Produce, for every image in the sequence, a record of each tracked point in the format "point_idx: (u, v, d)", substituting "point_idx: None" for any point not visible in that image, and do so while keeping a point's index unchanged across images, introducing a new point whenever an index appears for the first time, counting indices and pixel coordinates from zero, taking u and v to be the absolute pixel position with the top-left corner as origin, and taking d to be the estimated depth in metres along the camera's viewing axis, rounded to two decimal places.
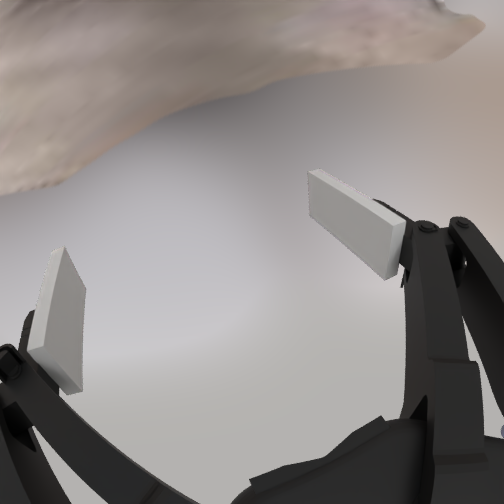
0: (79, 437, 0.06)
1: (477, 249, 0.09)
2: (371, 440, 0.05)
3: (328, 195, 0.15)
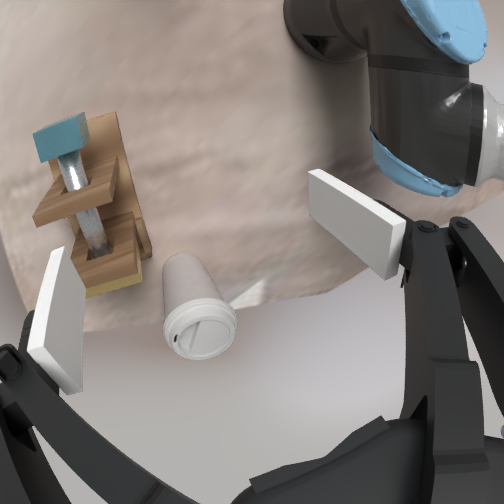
0: (79, 437, 0.06)
1: (477, 249, 0.09)
2: (371, 440, 0.05)
3: (328, 195, 0.15)
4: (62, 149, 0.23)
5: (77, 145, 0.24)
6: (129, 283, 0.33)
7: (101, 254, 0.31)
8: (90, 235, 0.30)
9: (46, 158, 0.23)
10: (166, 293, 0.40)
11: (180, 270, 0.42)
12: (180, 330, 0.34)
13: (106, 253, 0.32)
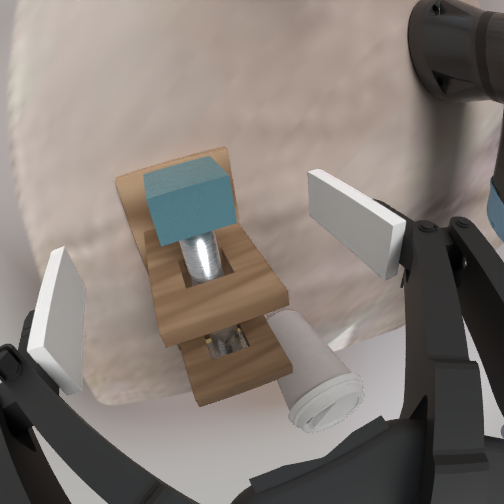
0: (79, 436, 0.06)
1: (477, 249, 0.09)
2: (371, 440, 0.05)
3: (328, 195, 0.15)
4: (202, 226, 0.18)
5: (227, 220, 0.18)
6: None
7: (231, 348, 0.25)
8: (221, 330, 0.24)
9: (171, 240, 0.17)
10: None
11: (293, 336, 0.36)
12: (317, 413, 0.28)
13: (236, 345, 0.26)
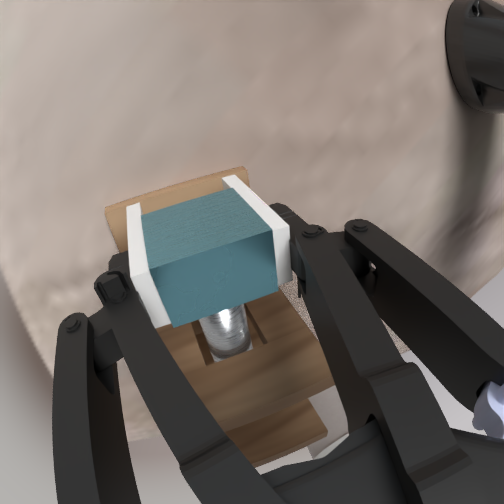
0: (165, 373, 0.07)
1: (386, 252, 0.10)
2: (371, 440, 0.05)
3: None
4: (231, 299, 0.12)
5: (265, 288, 0.13)
6: None
7: None
8: None
9: (187, 319, 0.12)
10: None
11: None
12: None
13: None
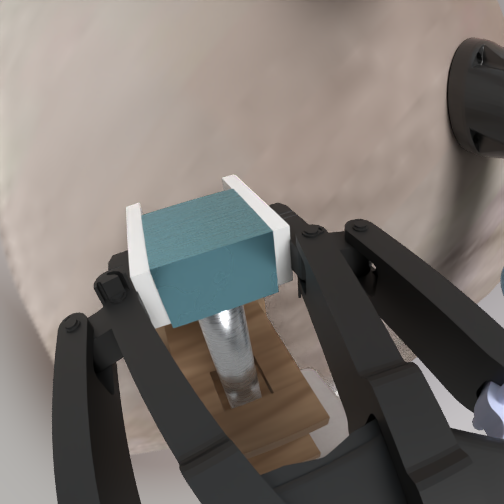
0: (164, 373, 0.07)
1: (386, 252, 0.10)
2: (371, 440, 0.05)
3: None
4: (231, 300, 0.12)
5: (265, 289, 0.13)
6: None
7: None
8: (243, 397, 0.19)
9: (187, 320, 0.12)
10: None
11: None
12: None
13: None
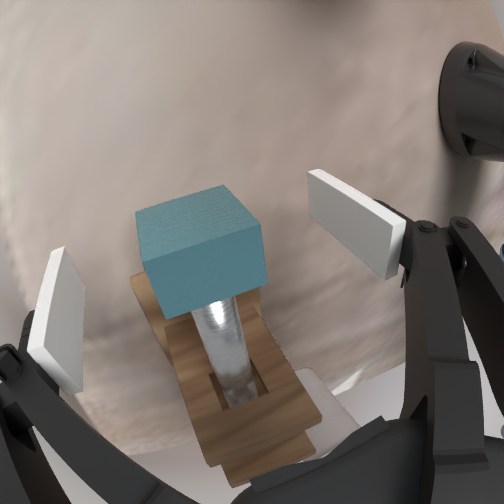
0: (79, 437, 0.06)
1: (477, 249, 0.09)
2: (371, 440, 0.05)
3: (328, 195, 0.15)
4: (221, 292, 0.13)
5: (254, 281, 0.13)
6: None
7: None
8: (238, 390, 0.19)
9: (179, 311, 0.12)
10: None
11: None
12: None
13: None
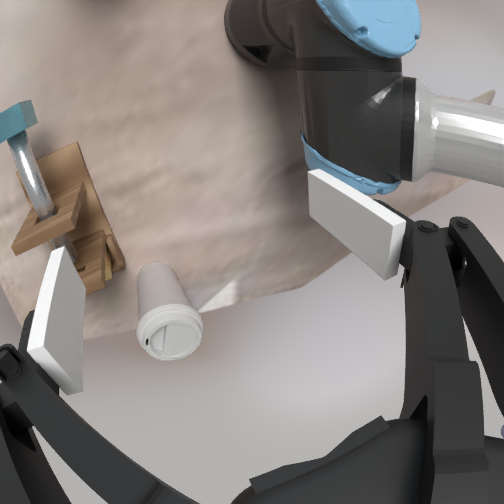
0: (79, 436, 0.06)
1: (477, 249, 0.09)
2: (371, 440, 0.05)
3: (328, 195, 0.15)
4: (9, 133, 0.22)
5: (21, 127, 0.23)
6: None
7: None
8: (40, 211, 0.29)
9: None
10: (139, 301, 0.43)
11: (150, 279, 0.45)
12: (150, 334, 0.37)
13: None
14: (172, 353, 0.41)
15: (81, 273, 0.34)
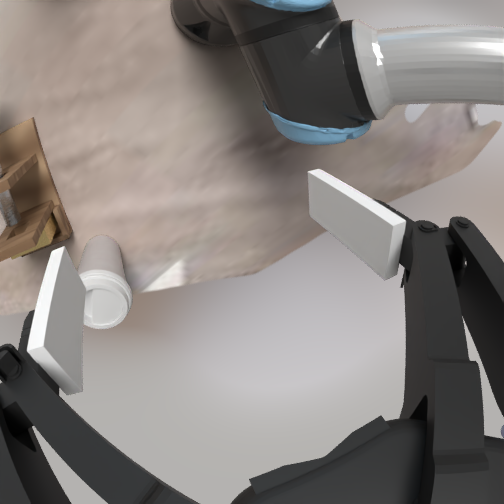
0: (79, 437, 0.06)
1: (477, 249, 0.09)
2: (371, 440, 0.05)
3: (328, 195, 0.15)
4: None
5: None
6: (41, 245, 0.37)
7: None
8: None
9: None
10: None
11: (90, 249, 0.44)
12: None
13: None
14: (100, 321, 0.39)
15: (20, 234, 0.32)
